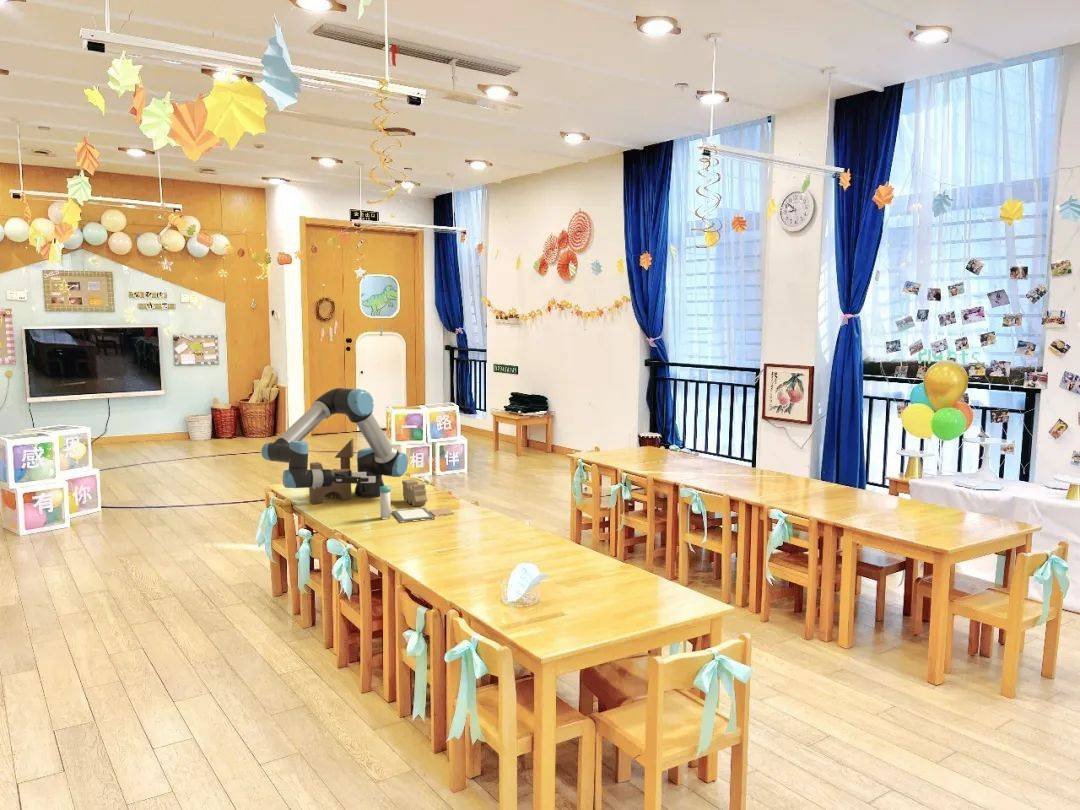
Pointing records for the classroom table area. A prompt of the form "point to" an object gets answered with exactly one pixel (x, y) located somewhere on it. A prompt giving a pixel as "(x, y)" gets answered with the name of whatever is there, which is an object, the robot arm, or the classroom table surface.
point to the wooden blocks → (336, 488)
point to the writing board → (413, 514)
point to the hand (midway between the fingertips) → (370, 477)
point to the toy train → (414, 492)
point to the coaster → (441, 512)
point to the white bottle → (385, 502)
